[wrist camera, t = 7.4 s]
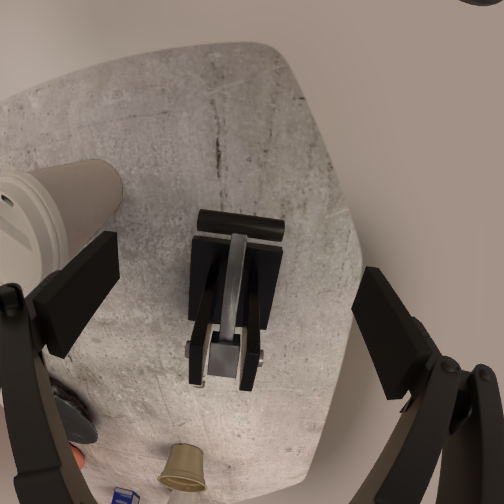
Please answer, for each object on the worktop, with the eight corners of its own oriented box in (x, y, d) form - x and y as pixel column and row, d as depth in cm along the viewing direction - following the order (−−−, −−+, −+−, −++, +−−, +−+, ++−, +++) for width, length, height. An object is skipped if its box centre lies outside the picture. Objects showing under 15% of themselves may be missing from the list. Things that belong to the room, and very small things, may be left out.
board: (118, 438, 49) (112, 457, 44) (40, 414, 49) (33, 429, 44) (84, 371, 40) (72, 393, 35) (-1, 346, 40) (-13, 362, 35)
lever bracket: (194, 234, 30) (159, 308, 18) (282, 246, 31) (298, 326, 19) (189, 314, 34) (166, 399, 23) (265, 323, 35) (270, 412, 23)
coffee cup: (154, 195, 28) (76, 263, 15) (98, 247, 31) (22, 327, 17) (98, 125, 25) (-9, 144, 12) (49, 186, 28) (-46, 236, 14)
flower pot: (161, 436, 47) (152, 472, 39) (209, 442, 47) (205, 481, 39) (167, 455, 51) (161, 488, 43) (211, 461, 51) (208, 495, 43)
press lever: (202, 209, 22) (197, 208, 20) (281, 219, 22) (286, 220, 20) (187, 357, 24) (182, 371, 21) (258, 366, 24) (260, 380, 22)
